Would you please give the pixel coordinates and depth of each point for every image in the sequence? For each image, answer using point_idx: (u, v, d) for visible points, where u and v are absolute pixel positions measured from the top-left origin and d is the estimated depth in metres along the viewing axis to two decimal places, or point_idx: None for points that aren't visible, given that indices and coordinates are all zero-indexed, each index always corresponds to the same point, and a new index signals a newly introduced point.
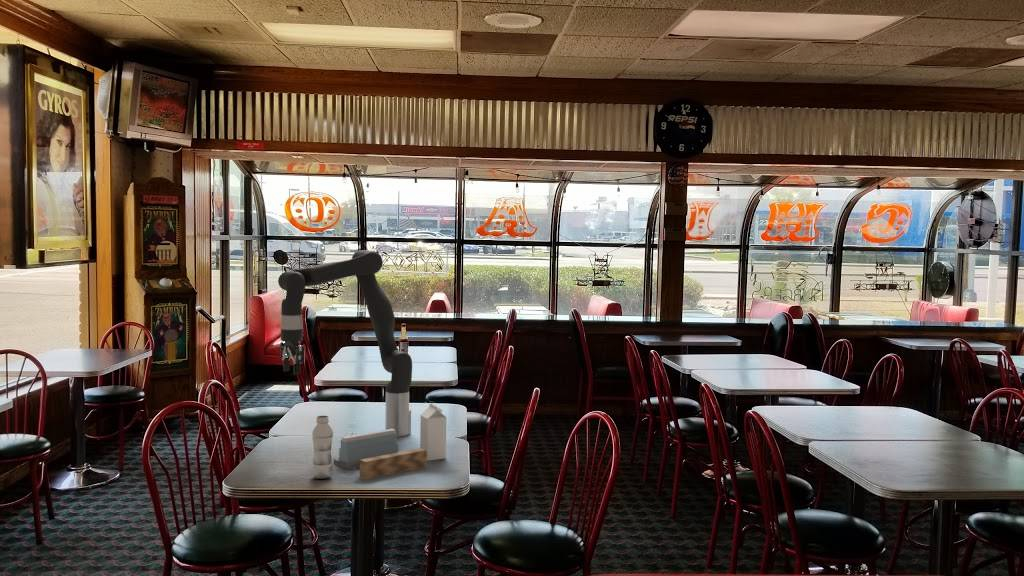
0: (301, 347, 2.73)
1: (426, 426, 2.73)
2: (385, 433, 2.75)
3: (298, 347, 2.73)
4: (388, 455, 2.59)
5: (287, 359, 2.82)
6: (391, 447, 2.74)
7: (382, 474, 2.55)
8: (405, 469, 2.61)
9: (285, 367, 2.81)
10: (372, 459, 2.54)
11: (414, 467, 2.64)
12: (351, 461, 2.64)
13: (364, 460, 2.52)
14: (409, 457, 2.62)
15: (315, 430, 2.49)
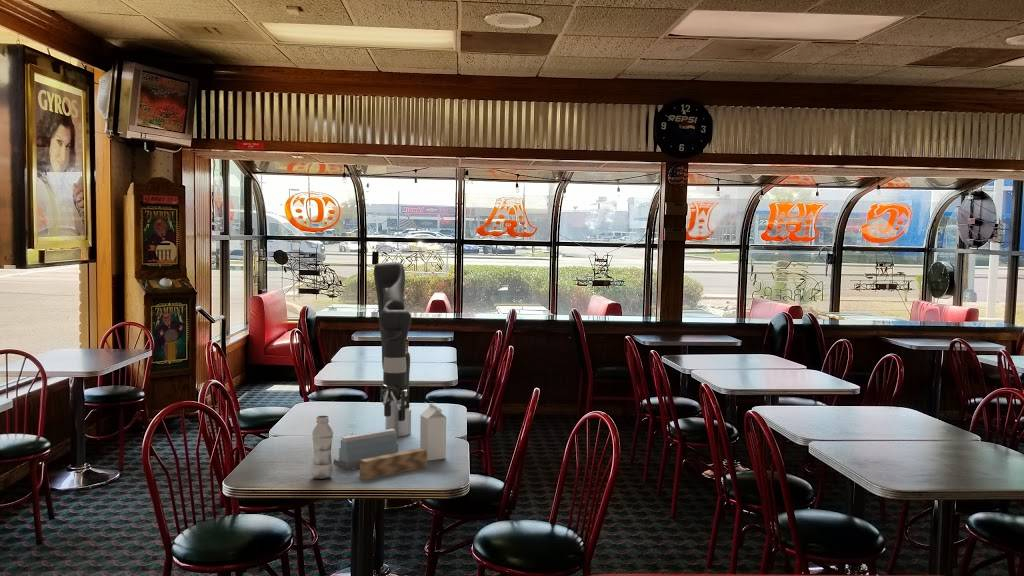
0: (407, 392, 2.54)
1: (426, 426, 2.73)
2: (385, 433, 2.75)
3: (404, 392, 2.53)
4: (388, 455, 2.59)
5: (388, 403, 2.62)
6: (391, 447, 2.74)
7: (382, 474, 2.55)
8: (405, 469, 2.61)
9: (386, 412, 2.62)
10: (372, 459, 2.54)
11: (414, 467, 2.64)
12: (351, 461, 2.64)
13: (364, 460, 2.52)
14: (409, 457, 2.62)
15: (315, 430, 2.49)
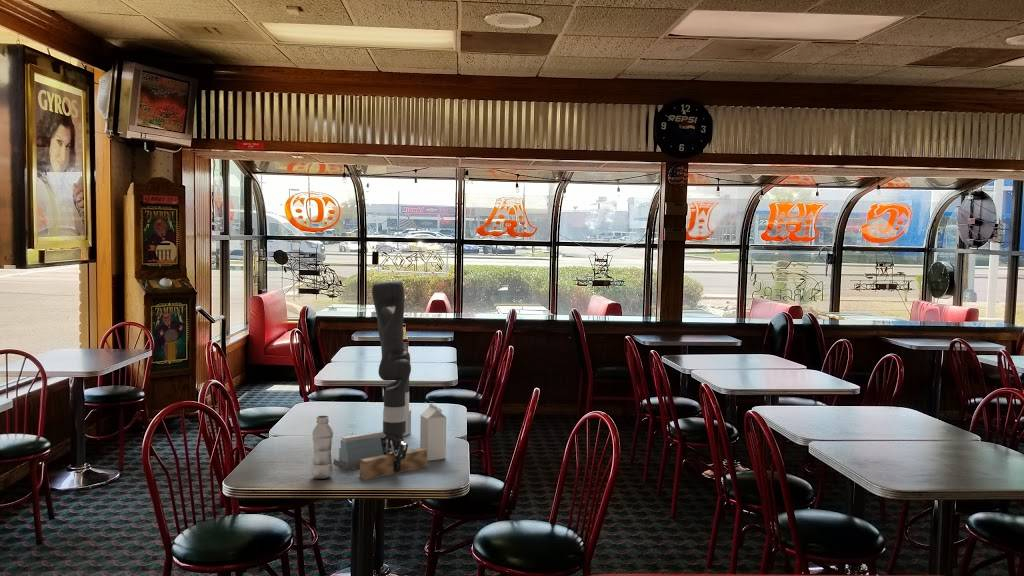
0: (406, 446, 2.55)
1: (426, 426, 2.73)
2: None
3: (403, 447, 2.54)
4: (388, 455, 2.59)
5: None
6: None
7: (382, 474, 2.55)
8: (405, 469, 2.61)
9: None
10: (372, 458, 2.54)
11: (414, 467, 2.64)
12: (351, 461, 2.64)
13: (364, 460, 2.52)
14: (409, 457, 2.62)
15: (315, 430, 2.49)
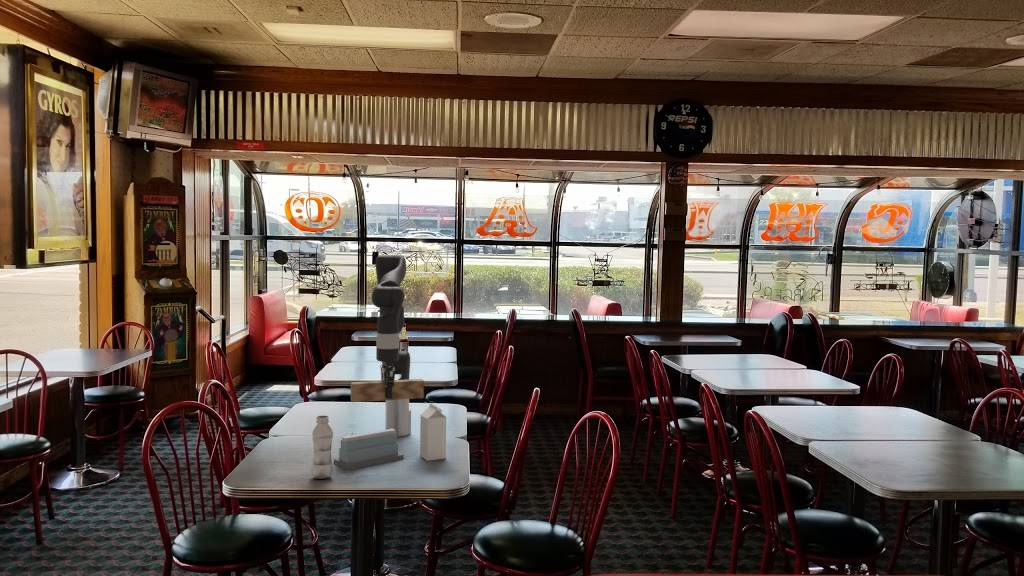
0: (392, 373, 2.56)
1: (426, 426, 2.73)
2: (385, 433, 2.75)
3: (389, 373, 2.55)
4: (381, 381, 2.61)
5: None
6: (391, 447, 2.74)
7: (372, 399, 2.59)
8: (398, 397, 2.62)
9: None
10: (362, 382, 2.59)
11: (409, 396, 2.63)
12: (351, 461, 2.64)
13: (353, 383, 2.58)
14: (403, 385, 2.62)
15: (315, 430, 2.49)
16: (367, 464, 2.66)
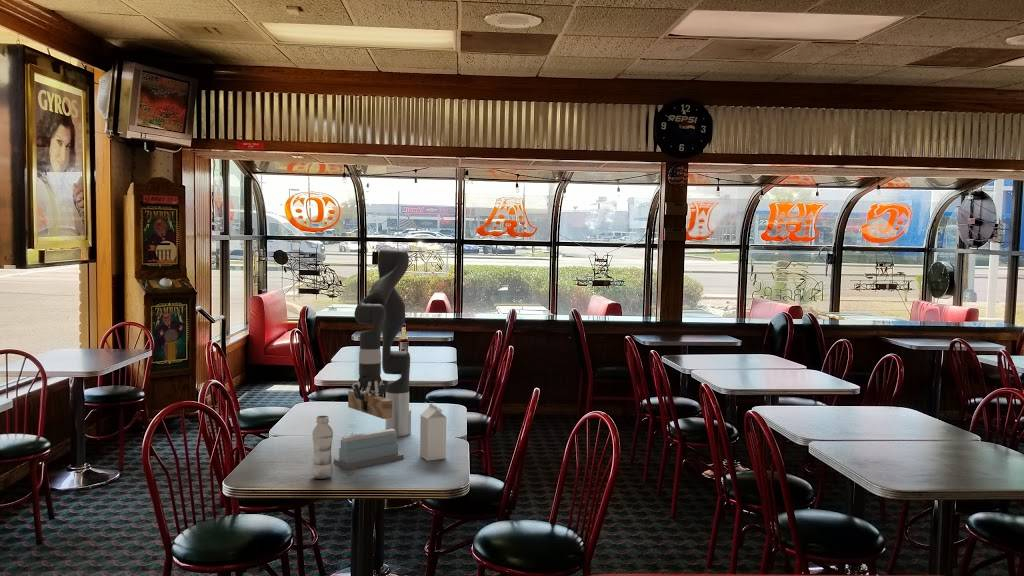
0: (353, 386, 2.66)
1: (426, 426, 2.73)
2: (385, 433, 2.75)
3: (352, 385, 2.67)
4: None
5: None
6: (391, 447, 2.74)
7: (357, 408, 2.74)
8: (370, 412, 2.68)
9: None
10: None
11: (376, 414, 2.65)
12: (351, 461, 2.64)
13: None
14: (373, 402, 2.66)
15: (315, 430, 2.49)
16: (367, 464, 2.66)
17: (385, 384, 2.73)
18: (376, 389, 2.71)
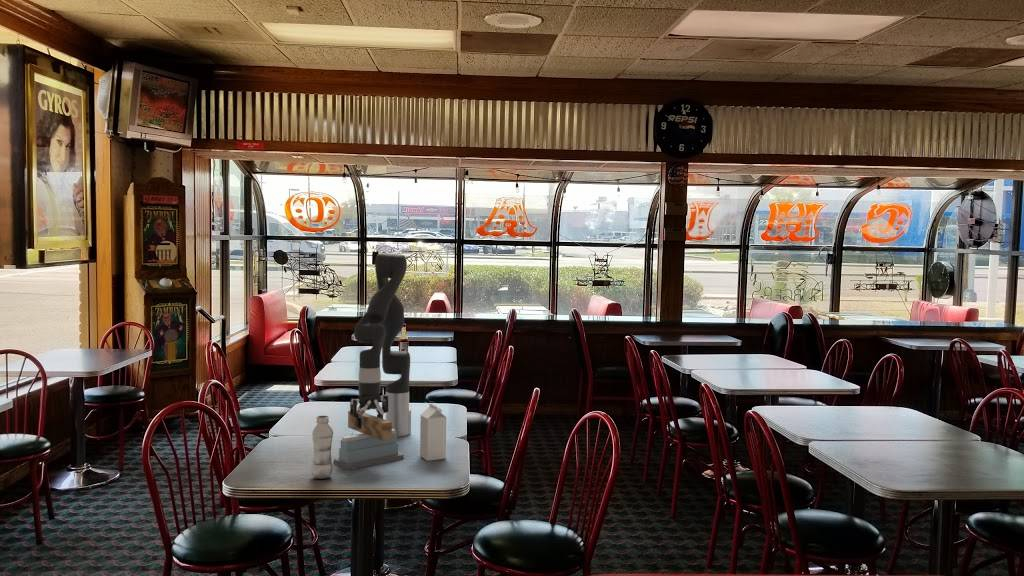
0: (352, 401, 2.66)
1: (426, 426, 2.73)
2: None
3: (351, 400, 2.67)
4: (366, 415, 2.73)
5: (379, 413, 2.74)
6: (391, 447, 2.74)
7: (357, 429, 2.75)
8: (370, 433, 2.68)
9: None
10: None
11: (375, 435, 2.65)
12: (351, 461, 2.64)
13: None
14: (373, 423, 2.67)
15: (315, 430, 2.49)
16: (367, 464, 2.66)
17: (386, 399, 2.74)
18: (378, 406, 2.72)
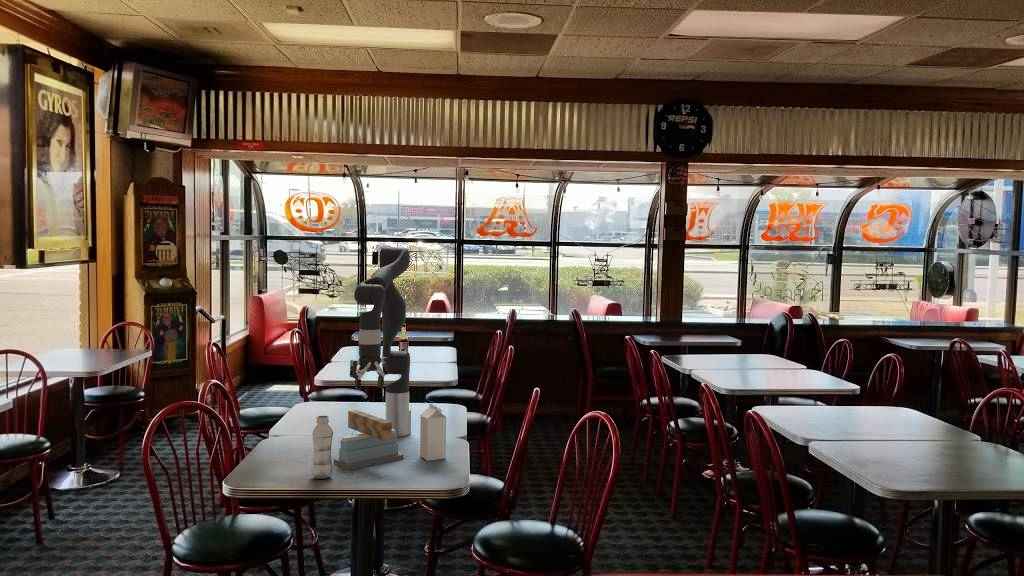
0: (353, 362, 2.65)
1: (426, 426, 2.73)
2: None
3: (351, 361, 2.66)
4: (366, 415, 2.73)
5: (380, 375, 2.73)
6: (391, 447, 2.74)
7: (357, 429, 2.75)
8: (370, 433, 2.68)
9: (378, 383, 2.74)
10: (356, 412, 2.78)
11: (375, 435, 2.65)
12: (351, 461, 2.64)
13: (353, 410, 2.80)
14: (373, 423, 2.67)
15: (315, 430, 2.49)
16: (367, 464, 2.66)
17: (386, 361, 2.73)
18: (379, 368, 2.71)
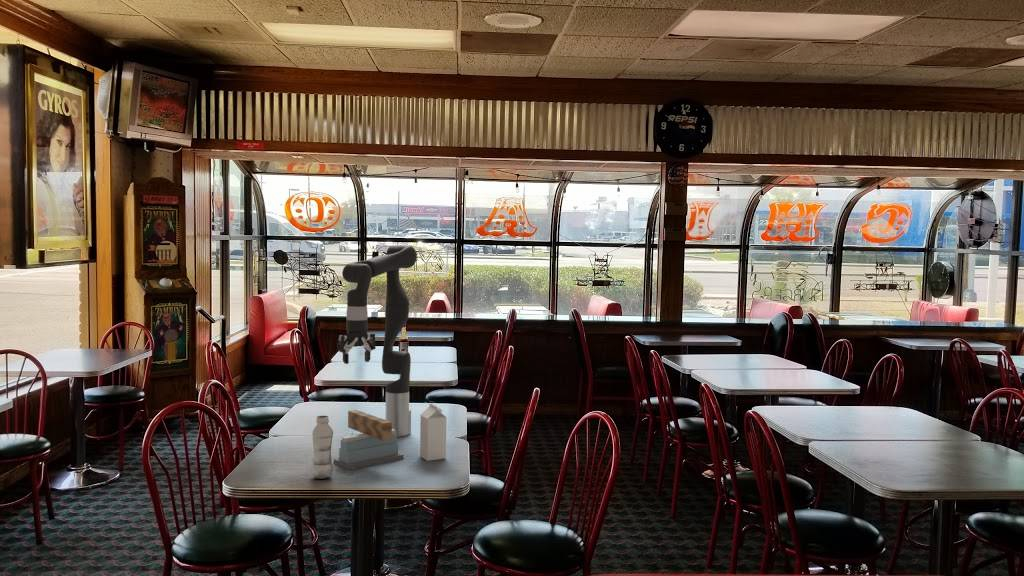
0: (340, 337, 2.80)
1: (426, 426, 2.73)
2: None
3: (339, 336, 2.81)
4: (366, 415, 2.73)
5: (367, 350, 2.87)
6: (391, 447, 2.74)
7: (357, 429, 2.75)
8: (370, 433, 2.68)
9: (365, 357, 2.88)
10: (356, 412, 2.78)
11: (375, 435, 2.65)
12: (351, 461, 2.64)
13: (353, 410, 2.80)
14: (373, 423, 2.67)
15: (315, 430, 2.49)
16: (367, 464, 2.66)
17: (373, 337, 2.88)
18: (365, 343, 2.85)
